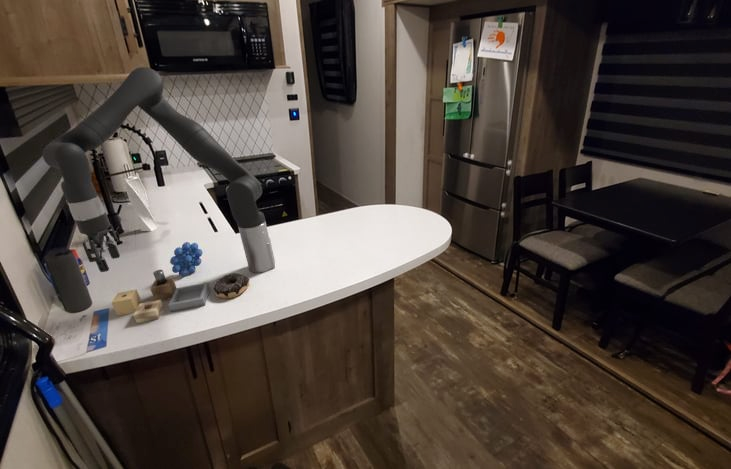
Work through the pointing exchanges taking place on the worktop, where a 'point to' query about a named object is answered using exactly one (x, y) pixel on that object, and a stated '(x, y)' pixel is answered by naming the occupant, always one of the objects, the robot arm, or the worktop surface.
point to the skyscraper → (140, 202)
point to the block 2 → (163, 289)
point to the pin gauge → (160, 277)
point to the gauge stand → (148, 311)
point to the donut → (231, 285)
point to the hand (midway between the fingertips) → (110, 264)
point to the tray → (189, 297)
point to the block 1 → (126, 302)
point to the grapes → (186, 258)
